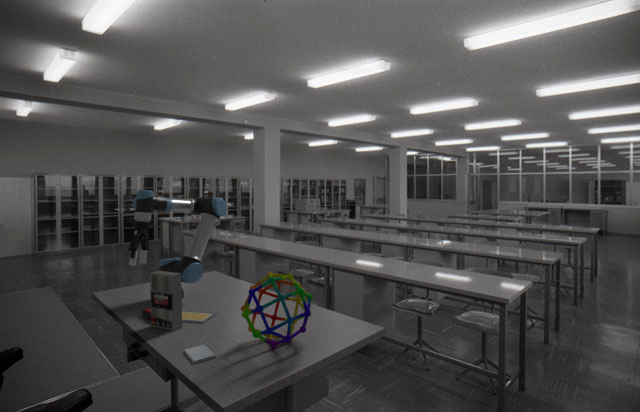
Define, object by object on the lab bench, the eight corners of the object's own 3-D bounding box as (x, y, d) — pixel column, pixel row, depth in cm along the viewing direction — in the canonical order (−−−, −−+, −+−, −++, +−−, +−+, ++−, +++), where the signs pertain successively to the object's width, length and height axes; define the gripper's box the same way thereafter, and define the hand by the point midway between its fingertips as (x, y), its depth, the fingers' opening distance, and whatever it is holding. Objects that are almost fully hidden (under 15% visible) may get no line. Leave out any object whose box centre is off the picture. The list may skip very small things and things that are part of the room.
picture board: (180, 311, 192) (180, 310, 192) (217, 313, 187) (217, 312, 187) (163, 320, 178) (163, 319, 178) (203, 323, 173) (203, 322, 173)
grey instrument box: (149, 327, 169) (148, 273, 168) (159, 322, 175) (158, 270, 174) (172, 331, 164) (171, 276, 163) (182, 326, 169) (181, 273, 168)
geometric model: (299, 273, 173) (241, 261, 158) (336, 284, 148) (270, 270, 133) (284, 338, 169) (222, 332, 153) (319, 360, 144) (249, 356, 128)
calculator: (163, 304, 193) (176, 309, 182) (164, 312, 193) (176, 317, 182) (141, 308, 185) (153, 314, 175) (142, 317, 185) (153, 323, 175)
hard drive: (215, 355, 138) (204, 343, 148) (193, 361, 133) (183, 349, 143) (215, 359, 138) (204, 347, 148) (194, 365, 133) (183, 353, 143)
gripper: (143, 221, 194) (139, 262, 192) (124, 219, 169) (118, 266, 167) (158, 222, 195) (154, 262, 193) (141, 220, 170) (136, 266, 168)
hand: (137, 264), depth 180 cm, fingers open, 13 cm apart
